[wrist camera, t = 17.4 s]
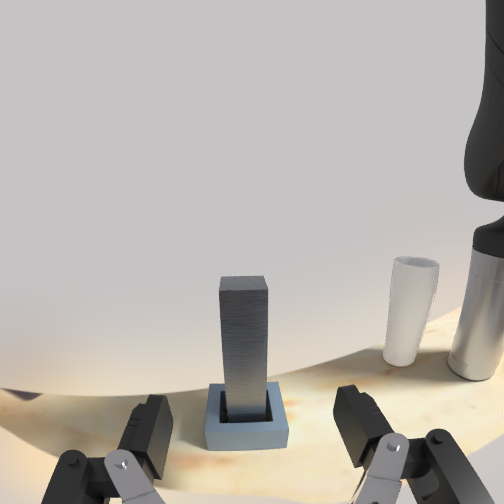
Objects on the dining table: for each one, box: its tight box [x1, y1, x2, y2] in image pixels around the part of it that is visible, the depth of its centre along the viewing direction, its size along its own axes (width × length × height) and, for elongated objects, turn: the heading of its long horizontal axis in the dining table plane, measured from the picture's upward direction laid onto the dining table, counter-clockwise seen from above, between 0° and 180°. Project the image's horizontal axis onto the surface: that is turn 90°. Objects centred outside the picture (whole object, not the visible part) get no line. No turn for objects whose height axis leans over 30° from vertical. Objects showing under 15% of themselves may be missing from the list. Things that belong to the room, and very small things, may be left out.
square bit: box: [219, 276, 268, 423], centre depth 22 cm, size 4×4×16 cm
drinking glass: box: [383, 256, 439, 367], centre depth 32 cm, size 7×7×15 cm
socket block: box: [204, 382, 289, 451], centre depth 24 cm, size 8×8×3 cm
